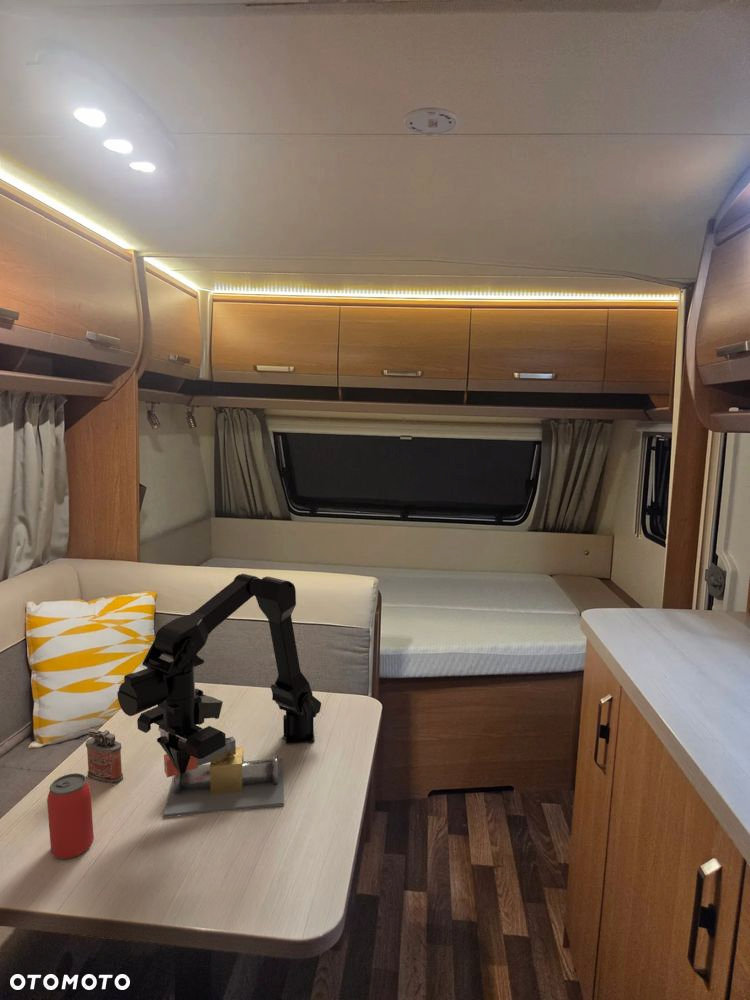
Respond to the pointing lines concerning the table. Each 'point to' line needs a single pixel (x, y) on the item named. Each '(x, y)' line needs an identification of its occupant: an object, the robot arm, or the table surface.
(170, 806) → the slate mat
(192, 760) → the lever
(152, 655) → the robot arm
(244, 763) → the valve body
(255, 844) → the table surface
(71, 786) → the beer can
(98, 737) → the lighter
